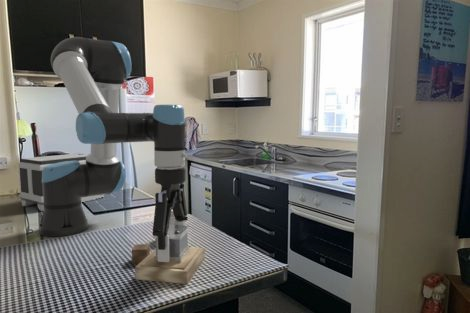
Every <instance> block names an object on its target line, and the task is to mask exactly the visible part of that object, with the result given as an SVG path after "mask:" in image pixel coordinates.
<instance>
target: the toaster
mask: <svg viewBox="0 0 470 313" xmlns="http://www.w3.org/2000/svg"><path fill="white" fill-rule="evenodd" d="M90 154H91V153H81V152H78V153H69V154H58V155H46V156H35V157H23V158H21V159H20V162H19V163H18V164H17V165H18V168H19V181H20V192H19V198H20V200H21V202H20V203H21V206H22V207H30V206H34V204H35V205H37V208H38V209H39V211H40V212H44V200H43V185H42V170H43V169H44V167H46V166H48V165H51V164H54V163H59V162H65V161H79V163H80V164H86V157H87V156H88V155H90ZM101 197H104V198H105V194H104V195H96V196H88V197H82V198H81V204H83V203H82V202H84V203H86V202H85V201H89V200H92V199H96V198H101ZM89 202H90V201H89Z"/></svg>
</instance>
